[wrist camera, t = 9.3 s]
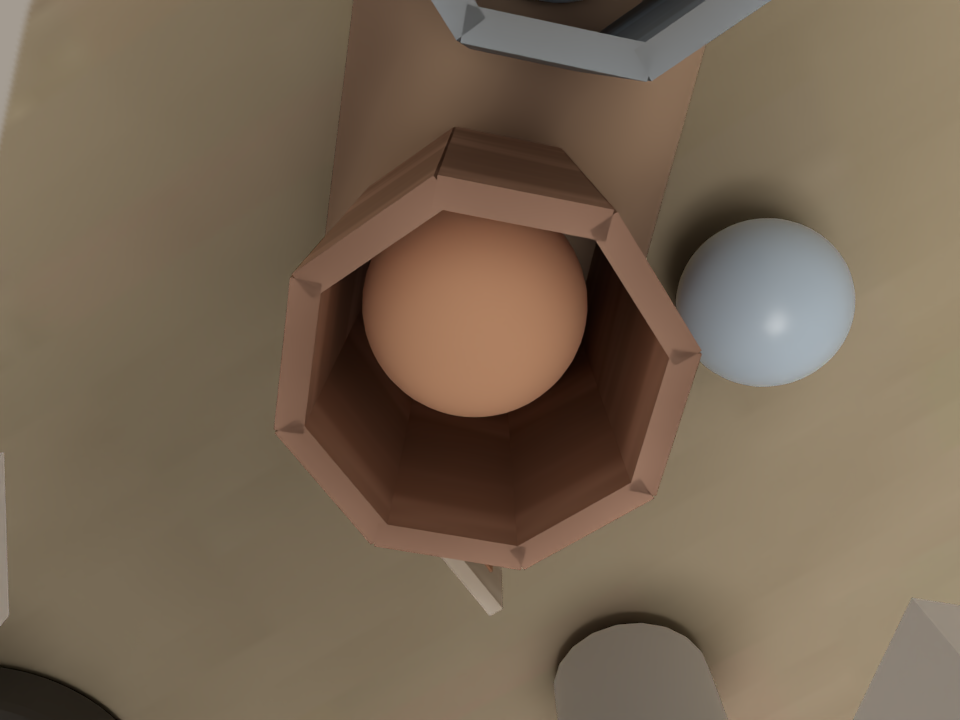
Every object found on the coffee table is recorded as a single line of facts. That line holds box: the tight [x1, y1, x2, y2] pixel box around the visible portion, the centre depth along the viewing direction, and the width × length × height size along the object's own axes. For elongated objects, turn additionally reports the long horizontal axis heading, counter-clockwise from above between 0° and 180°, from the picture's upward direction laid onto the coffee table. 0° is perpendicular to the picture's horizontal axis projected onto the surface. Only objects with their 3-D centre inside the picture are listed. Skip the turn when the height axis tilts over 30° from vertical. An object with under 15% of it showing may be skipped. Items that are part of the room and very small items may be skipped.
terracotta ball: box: [362, 210, 587, 417], centre depth 21 cm, size 6×6×6 cm
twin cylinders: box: [274, 0, 771, 616], centre depth 23 cm, size 12×30×13 cm, turn 169°
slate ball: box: [676, 218, 855, 387], centre depth 27 cm, size 6×6×6 cm
